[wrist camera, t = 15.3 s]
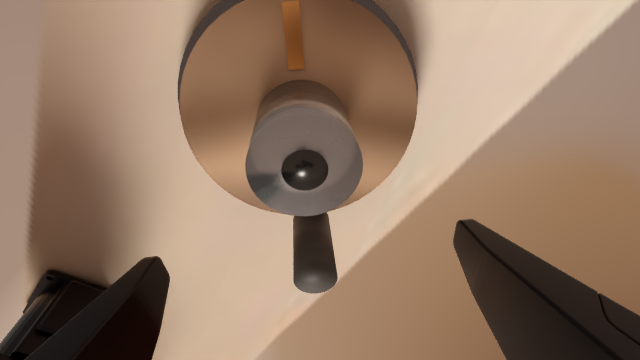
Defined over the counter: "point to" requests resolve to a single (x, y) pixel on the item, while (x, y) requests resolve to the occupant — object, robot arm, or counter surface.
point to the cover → (303, 150)
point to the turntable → (294, 64)
